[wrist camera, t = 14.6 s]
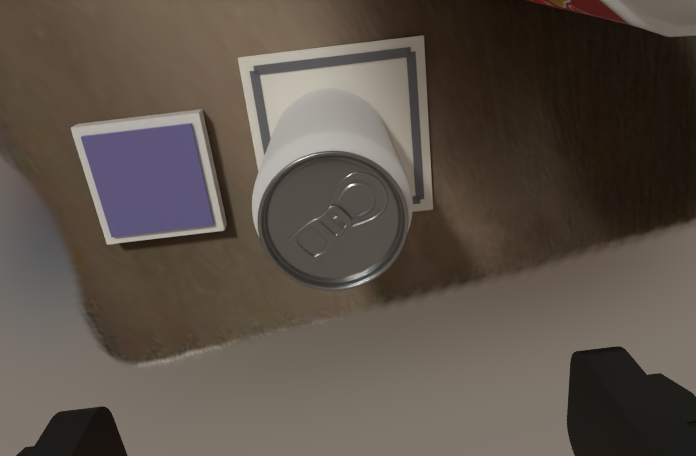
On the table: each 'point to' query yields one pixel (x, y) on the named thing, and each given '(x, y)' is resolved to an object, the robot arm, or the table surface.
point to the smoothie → (638, 13)
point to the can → (331, 193)
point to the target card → (359, 78)
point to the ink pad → (151, 176)
